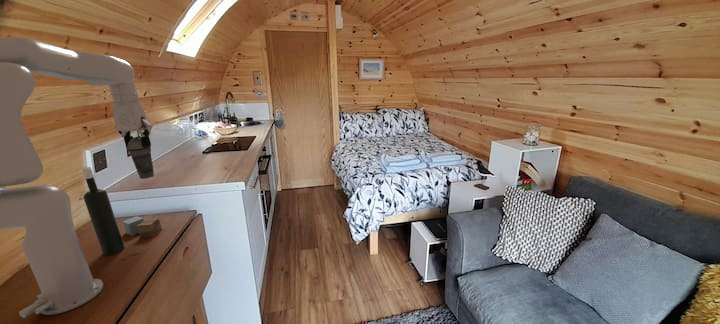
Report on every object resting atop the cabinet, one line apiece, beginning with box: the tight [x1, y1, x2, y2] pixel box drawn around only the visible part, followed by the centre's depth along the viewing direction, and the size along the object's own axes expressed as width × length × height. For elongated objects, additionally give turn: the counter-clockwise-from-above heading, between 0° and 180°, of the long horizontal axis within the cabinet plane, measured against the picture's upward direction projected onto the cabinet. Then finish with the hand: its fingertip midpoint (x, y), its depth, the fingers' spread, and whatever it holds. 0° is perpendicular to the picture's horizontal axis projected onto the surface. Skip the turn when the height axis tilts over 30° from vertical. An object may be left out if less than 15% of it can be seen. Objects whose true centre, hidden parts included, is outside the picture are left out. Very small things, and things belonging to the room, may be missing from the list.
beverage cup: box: [127, 130, 155, 180], centre depth 113 cm, size 7×7×20 cm
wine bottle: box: [81, 166, 125, 257], centre depth 97 cm, size 6×6×30 cm
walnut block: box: [137, 217, 163, 238], centre depth 111 cm, size 5×5×5 cm
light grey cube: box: [122, 216, 145, 236], centre depth 114 cm, size 5×5×5 cm
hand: (138, 146), depth 113 cm, fingers closed on beverage cup, 6 cm apart
